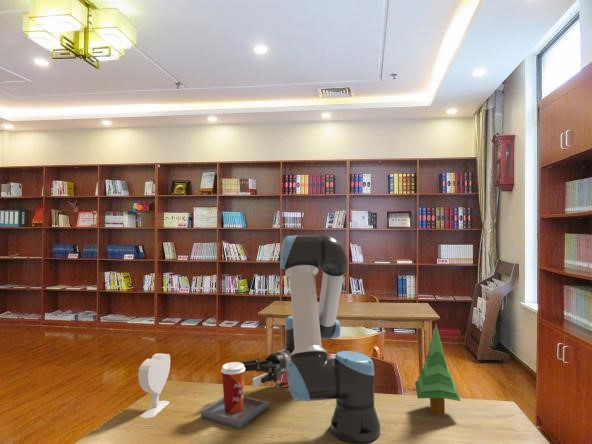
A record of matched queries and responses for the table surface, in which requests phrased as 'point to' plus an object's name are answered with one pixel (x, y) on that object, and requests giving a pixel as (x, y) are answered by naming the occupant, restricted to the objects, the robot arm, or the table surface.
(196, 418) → the table surface
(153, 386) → the heart sculpture
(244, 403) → the tray
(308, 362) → the robot arm
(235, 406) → the coffee cup
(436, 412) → the decorative tree
